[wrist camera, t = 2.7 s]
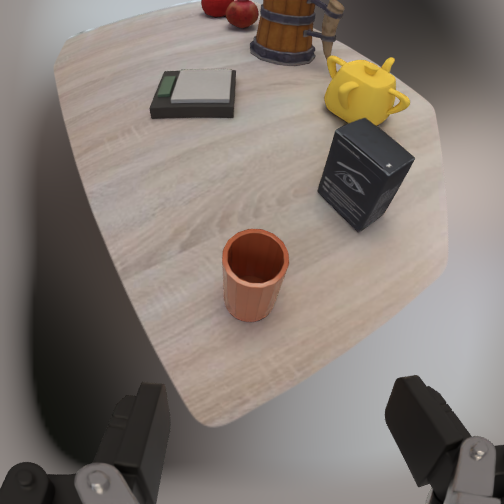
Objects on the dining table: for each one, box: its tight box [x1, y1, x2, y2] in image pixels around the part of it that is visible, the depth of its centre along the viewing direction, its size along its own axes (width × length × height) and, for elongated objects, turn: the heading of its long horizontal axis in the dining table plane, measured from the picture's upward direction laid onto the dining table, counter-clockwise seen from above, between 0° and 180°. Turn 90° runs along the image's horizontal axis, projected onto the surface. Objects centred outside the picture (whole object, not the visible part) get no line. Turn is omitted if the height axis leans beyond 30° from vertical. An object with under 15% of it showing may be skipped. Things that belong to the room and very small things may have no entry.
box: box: [318, 118, 415, 232], centre depth 36 cm, size 8×6×11 cm
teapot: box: [324, 56, 410, 126], centre depth 46 cm, size 14×13×10 cm
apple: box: [201, 0, 234, 17], centre depth 68 cm, size 9×9×10 cm
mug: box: [250, 0, 344, 66], centre depth 51 cm, size 19×14×20 cm
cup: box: [222, 229, 289, 322], centre depth 29 cm, size 5×5×9 cm
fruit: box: [226, 0, 259, 28], centre depth 63 cm, size 8×8×10 cm
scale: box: [150, 69, 236, 119], centre depth 48 cm, size 13×12×3 cm
